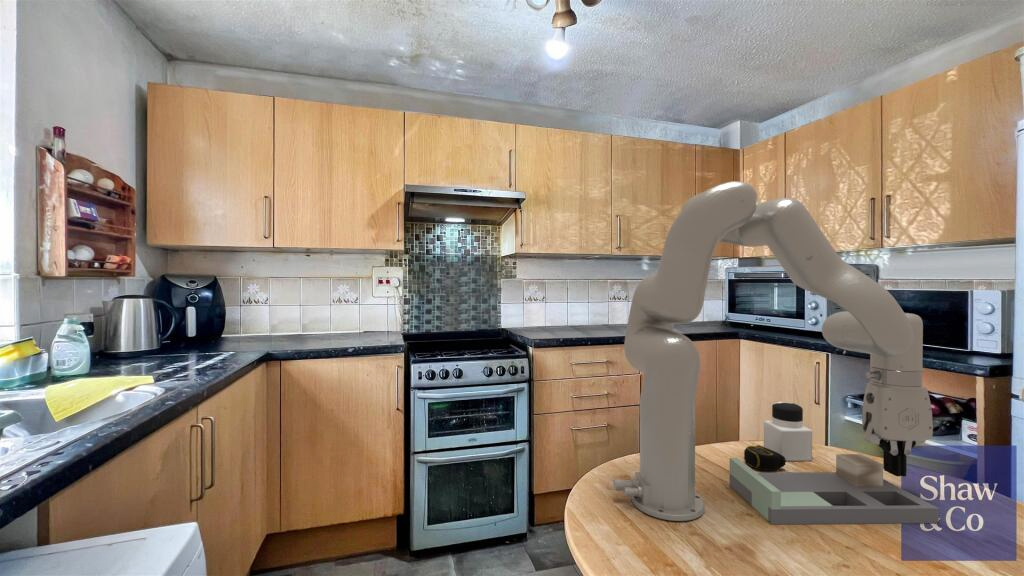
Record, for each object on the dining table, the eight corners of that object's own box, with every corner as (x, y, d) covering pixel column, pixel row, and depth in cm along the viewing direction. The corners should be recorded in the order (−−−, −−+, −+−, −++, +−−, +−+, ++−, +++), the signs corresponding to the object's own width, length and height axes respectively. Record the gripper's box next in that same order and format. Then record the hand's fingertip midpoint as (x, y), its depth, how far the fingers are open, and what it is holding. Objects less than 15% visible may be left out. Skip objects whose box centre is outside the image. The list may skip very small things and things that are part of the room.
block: (856, 486, 81) (856, 464, 81) (836, 474, 86) (836, 454, 86) (883, 486, 81) (883, 464, 81) (861, 474, 86) (861, 454, 86)
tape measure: (787, 471, 94) (787, 454, 94) (762, 475, 92) (762, 457, 92) (760, 459, 100) (760, 442, 100) (736, 462, 98) (736, 446, 98)
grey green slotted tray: (771, 524, 73) (771, 491, 73) (729, 485, 87) (729, 457, 87) (938, 523, 73) (939, 490, 73) (869, 484, 87) (869, 457, 87)
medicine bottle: (812, 461, 99) (813, 408, 98) (780, 461, 99) (781, 408, 98) (792, 449, 106) (793, 399, 106) (763, 449, 106) (763, 399, 106)
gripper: (872, 382, 80) (871, 482, 80) (954, 381, 80) (953, 482, 80) (841, 373, 87) (840, 465, 87) (916, 373, 87) (915, 465, 87)
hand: (894, 473), depth 84 cm, fingers closed
